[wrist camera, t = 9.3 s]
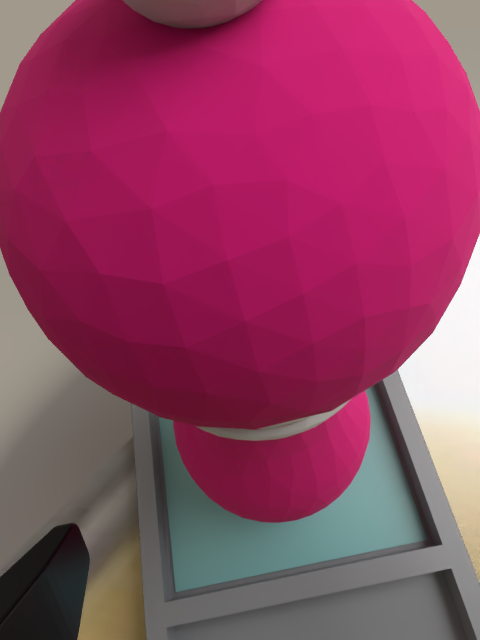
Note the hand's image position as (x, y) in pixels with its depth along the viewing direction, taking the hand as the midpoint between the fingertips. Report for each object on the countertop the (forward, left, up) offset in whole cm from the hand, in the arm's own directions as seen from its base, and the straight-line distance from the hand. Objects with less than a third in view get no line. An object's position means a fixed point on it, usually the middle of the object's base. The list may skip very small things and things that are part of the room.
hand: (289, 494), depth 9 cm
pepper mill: (+3, 0, -11) cm, 11 cm away
